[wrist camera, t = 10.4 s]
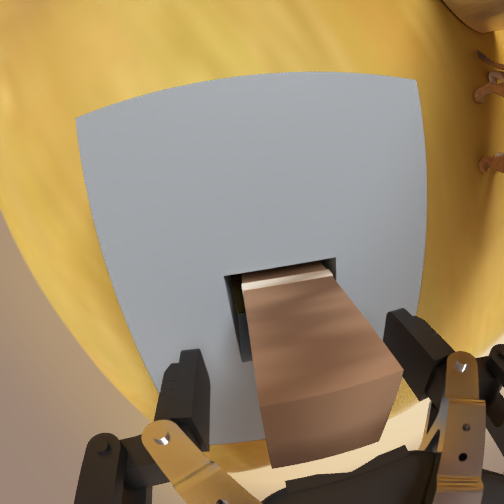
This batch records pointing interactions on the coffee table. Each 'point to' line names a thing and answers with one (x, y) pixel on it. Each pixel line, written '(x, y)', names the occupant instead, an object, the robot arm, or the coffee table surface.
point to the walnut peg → (315, 365)
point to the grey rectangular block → (254, 210)
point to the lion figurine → (500, 160)
